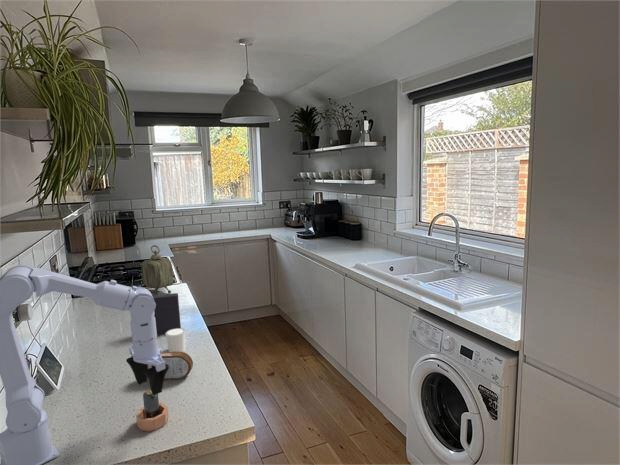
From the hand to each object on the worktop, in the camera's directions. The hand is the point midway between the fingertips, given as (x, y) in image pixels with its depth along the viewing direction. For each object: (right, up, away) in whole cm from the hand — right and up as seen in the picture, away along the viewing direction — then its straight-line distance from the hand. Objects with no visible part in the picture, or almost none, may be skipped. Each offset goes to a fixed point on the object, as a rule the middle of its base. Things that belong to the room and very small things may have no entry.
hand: (149, 387), depth 103 cm
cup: (0, -9, +2) cm, 10 cm away
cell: (0, -9, +2) cm, 9 cm away
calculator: (-16, 0, +58) cm, 60 cm away
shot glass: (-7, -3, +42) cm, 42 cm away
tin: (-3, -6, +23) cm, 24 cm away
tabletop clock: (-37, +8, +106) cm, 113 cm away
